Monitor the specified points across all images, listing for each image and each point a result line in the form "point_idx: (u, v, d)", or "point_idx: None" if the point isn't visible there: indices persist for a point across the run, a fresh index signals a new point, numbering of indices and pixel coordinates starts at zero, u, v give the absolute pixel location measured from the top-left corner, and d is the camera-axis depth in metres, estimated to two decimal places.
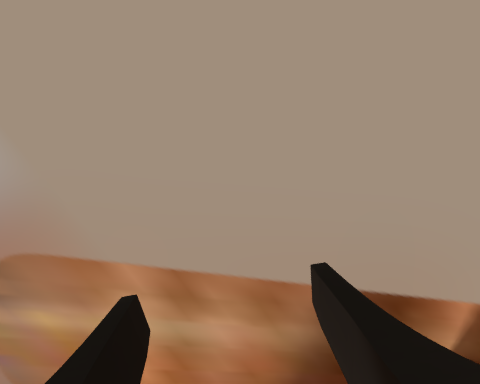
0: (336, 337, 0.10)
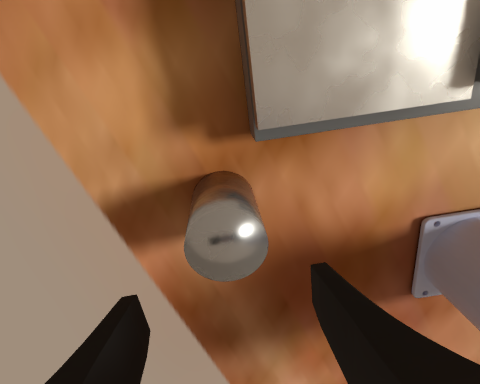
0: (337, 337, 0.10)
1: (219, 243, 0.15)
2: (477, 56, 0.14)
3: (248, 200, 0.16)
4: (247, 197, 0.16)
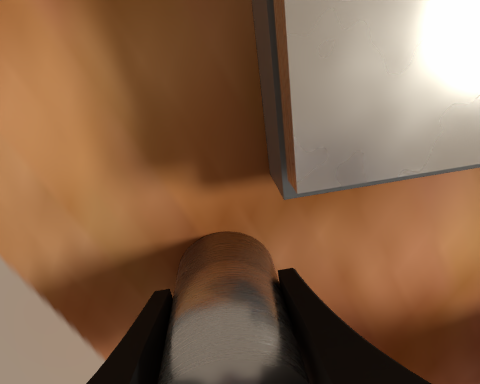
0: (298, 344, 0.10)
1: None
2: None
3: (272, 306, 0.09)
4: (269, 297, 0.09)
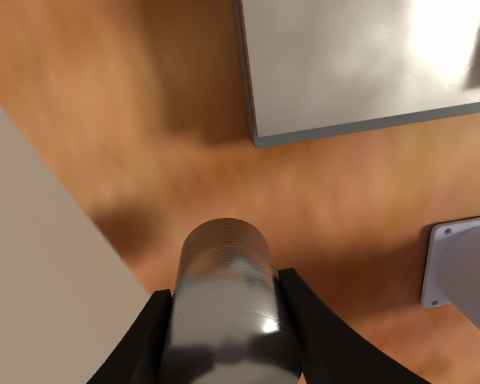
0: (298, 344, 0.10)
1: (219, 368, 0.09)
2: None
3: (265, 280, 0.10)
4: (263, 273, 0.10)
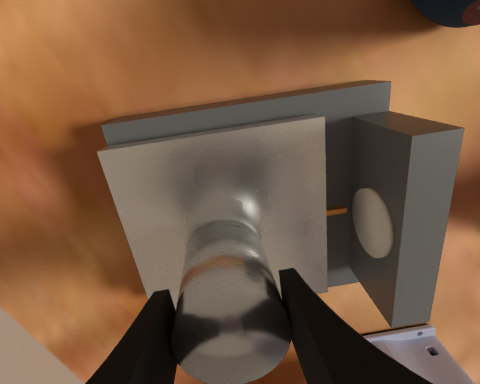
0: (299, 344, 0.10)
1: (223, 333, 0.10)
2: (325, 267, 0.17)
3: (265, 269, 0.12)
4: (263, 264, 0.12)
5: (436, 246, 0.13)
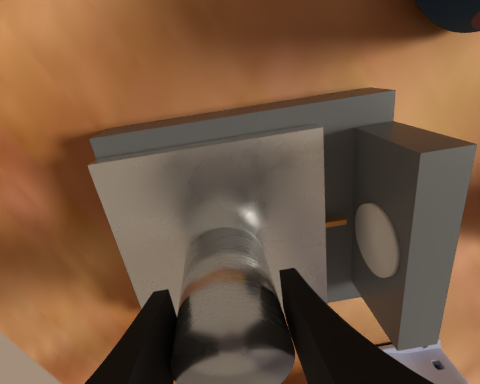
0: (300, 344, 0.10)
1: (224, 356, 0.10)
2: (325, 280, 0.17)
3: (267, 285, 0.12)
4: (265, 279, 0.12)
5: (445, 267, 0.12)
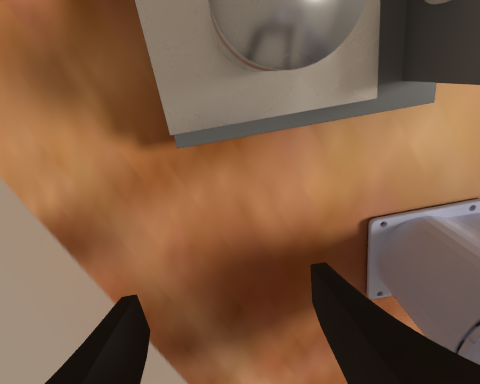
0: (336, 337, 0.10)
1: None
2: (376, 57, 0.14)
3: None
4: None
5: None
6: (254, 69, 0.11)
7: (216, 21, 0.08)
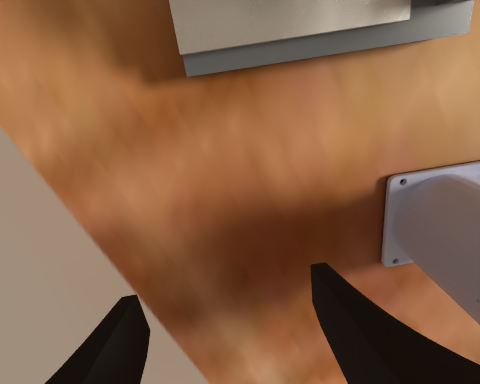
0: (336, 337, 0.10)
1: None
2: None
3: None
4: None
5: None
6: None
7: None
